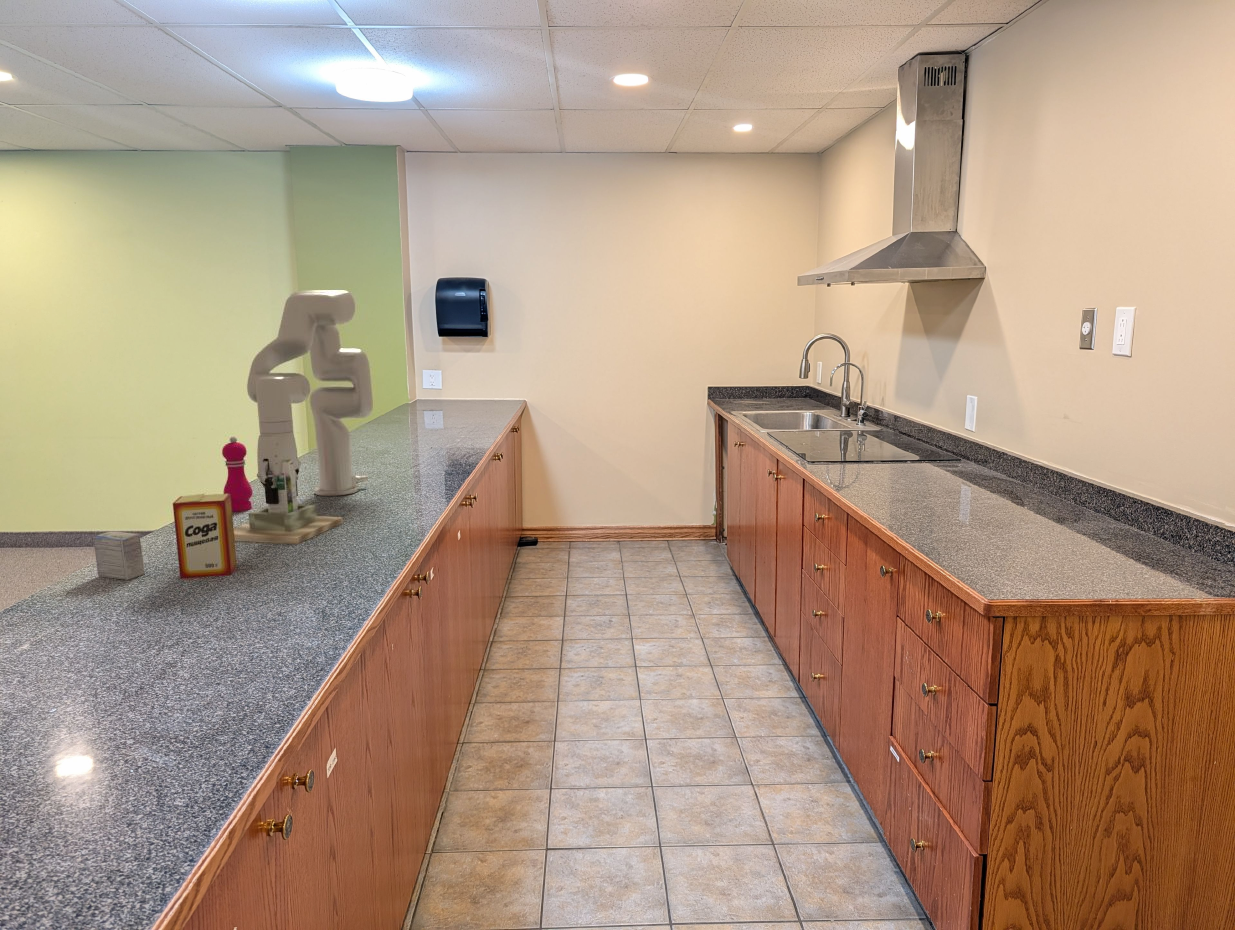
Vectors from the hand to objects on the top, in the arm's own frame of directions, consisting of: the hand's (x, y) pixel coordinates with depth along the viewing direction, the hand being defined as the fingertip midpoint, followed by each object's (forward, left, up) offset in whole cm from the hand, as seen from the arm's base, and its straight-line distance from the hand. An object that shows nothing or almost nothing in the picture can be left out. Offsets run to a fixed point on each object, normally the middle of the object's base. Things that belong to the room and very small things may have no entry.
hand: (282, 499), depth 204 cm
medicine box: (+39, +9, -8) cm, 41 cm away
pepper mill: (-3, -32, -8) cm, 33 cm away
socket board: (0, 0, -8) cm, 8 cm away
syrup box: (0, 0, -5) cm, 5 cm away
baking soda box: (+26, +20, -8) cm, 34 cm away
